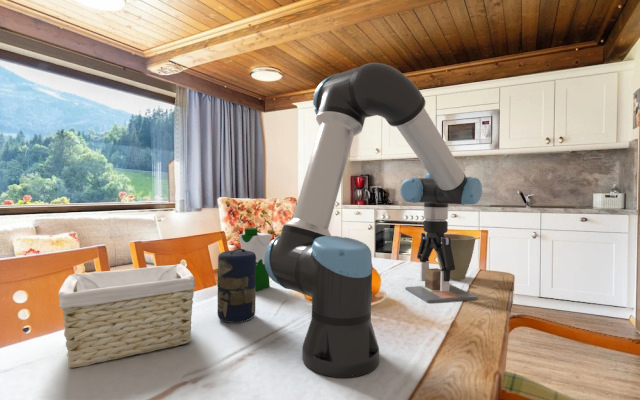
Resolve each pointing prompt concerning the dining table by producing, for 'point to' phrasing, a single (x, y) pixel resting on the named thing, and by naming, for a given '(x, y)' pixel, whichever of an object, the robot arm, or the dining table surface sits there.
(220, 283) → the canister
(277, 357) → the dining table surface
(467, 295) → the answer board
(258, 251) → the milk carton
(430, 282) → the brown wooden block
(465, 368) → the dining table surface
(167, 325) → the storage basket
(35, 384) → the dining table surface
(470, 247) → the plant pot
